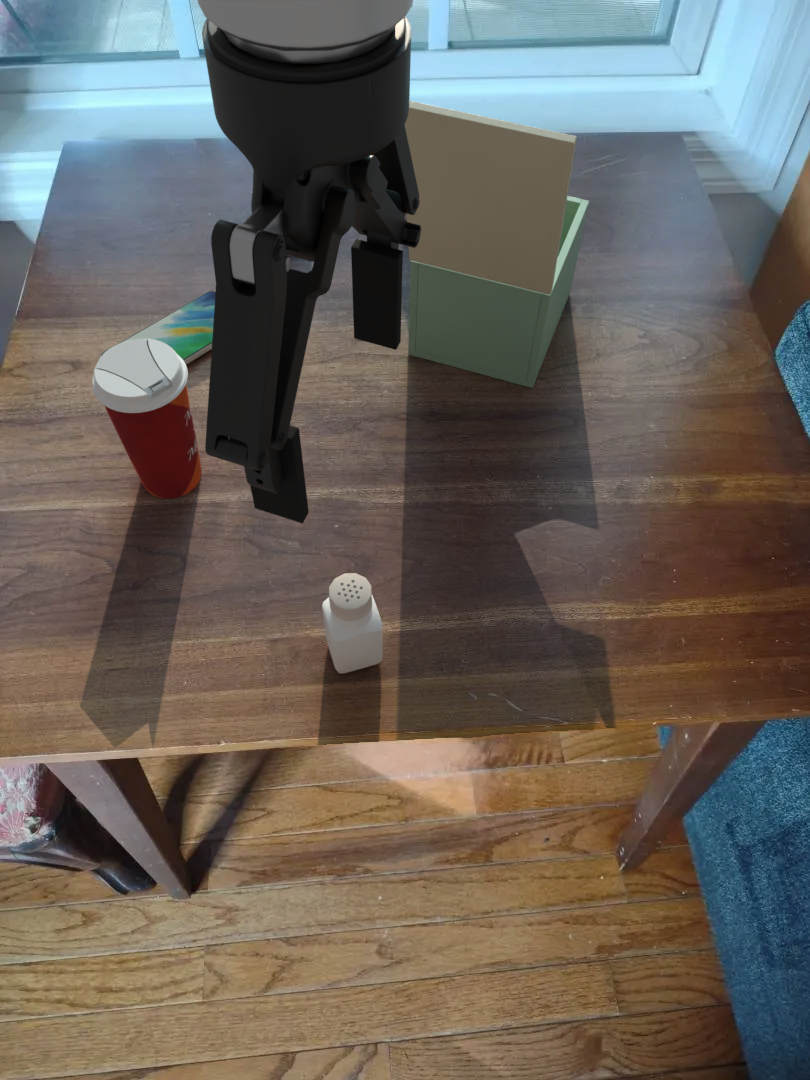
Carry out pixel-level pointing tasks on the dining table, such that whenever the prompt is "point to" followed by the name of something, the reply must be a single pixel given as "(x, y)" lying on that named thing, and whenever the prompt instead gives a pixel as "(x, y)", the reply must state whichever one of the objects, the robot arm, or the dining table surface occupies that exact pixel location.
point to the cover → (489, 195)
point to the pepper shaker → (352, 624)
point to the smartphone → (184, 328)
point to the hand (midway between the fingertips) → (333, 419)
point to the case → (492, 313)
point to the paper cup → (151, 413)
